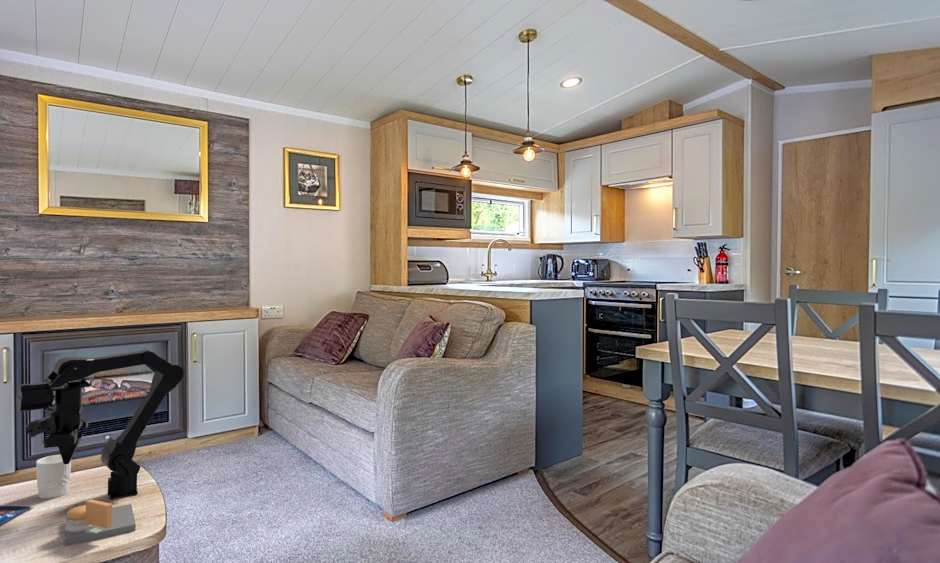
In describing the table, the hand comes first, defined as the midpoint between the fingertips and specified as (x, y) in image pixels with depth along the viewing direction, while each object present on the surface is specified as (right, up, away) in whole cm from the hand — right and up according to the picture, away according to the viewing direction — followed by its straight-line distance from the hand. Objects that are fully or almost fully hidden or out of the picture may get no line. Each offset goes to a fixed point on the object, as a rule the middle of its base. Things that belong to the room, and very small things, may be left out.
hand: (66, 463), depth 139 cm
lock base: (+15, -13, -9) cm, 22 cm away
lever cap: (+17, -9, -14) cm, 24 cm away
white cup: (-11, -12, +9) cm, 18 cm away
